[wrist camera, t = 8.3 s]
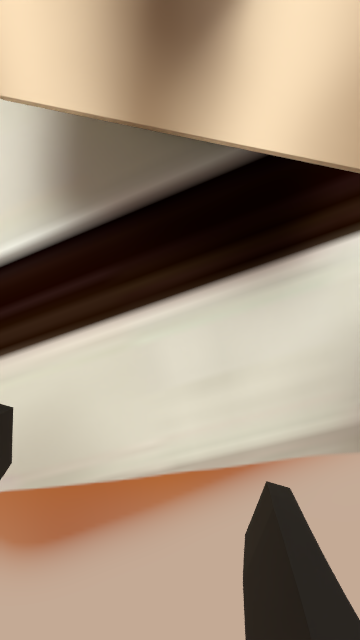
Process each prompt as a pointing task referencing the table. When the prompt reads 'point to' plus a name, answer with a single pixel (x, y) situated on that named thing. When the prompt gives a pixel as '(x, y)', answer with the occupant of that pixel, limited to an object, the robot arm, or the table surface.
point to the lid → (196, 69)
